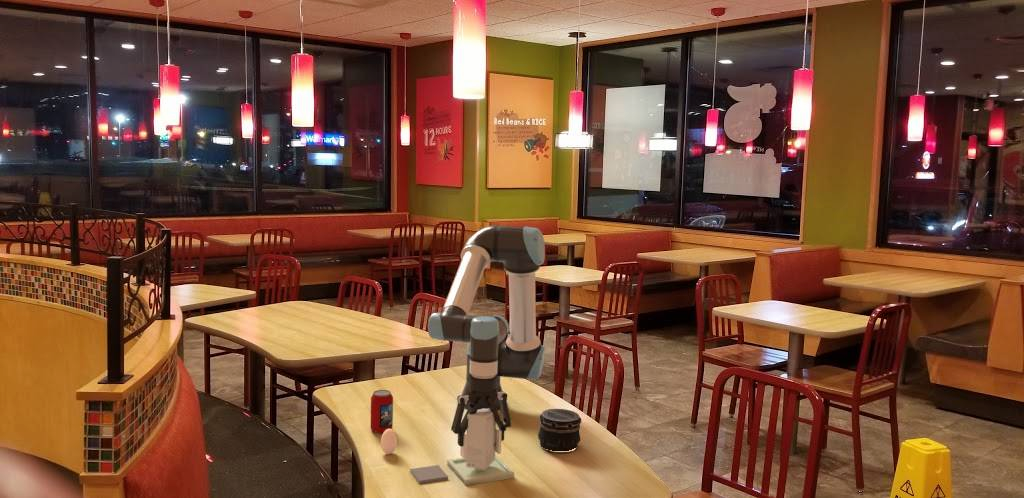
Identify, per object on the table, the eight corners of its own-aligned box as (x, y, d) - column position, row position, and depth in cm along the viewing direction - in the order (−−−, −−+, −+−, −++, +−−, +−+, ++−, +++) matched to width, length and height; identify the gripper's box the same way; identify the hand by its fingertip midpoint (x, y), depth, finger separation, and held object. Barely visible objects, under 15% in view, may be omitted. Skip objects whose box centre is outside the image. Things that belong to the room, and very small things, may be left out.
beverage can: (388, 435, 241) (388, 396, 239) (367, 432, 242) (367, 394, 240) (395, 427, 247) (396, 390, 246) (375, 425, 249) (375, 388, 247)
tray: (493, 458, 226) (493, 453, 226) (514, 477, 213) (514, 472, 213) (447, 465, 220) (447, 459, 220) (465, 485, 207) (465, 479, 207)
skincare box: (485, 471, 211) (487, 417, 209) (464, 467, 213) (466, 414, 211) (495, 459, 219) (497, 407, 217) (475, 456, 221) (476, 404, 219)
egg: (389, 458, 223) (390, 433, 222) (377, 454, 226) (377, 429, 225) (400, 453, 227) (400, 428, 226) (388, 449, 229) (388, 424, 229)
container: (584, 442, 241) (586, 410, 239) (573, 457, 229) (575, 424, 227) (544, 436, 245) (545, 405, 243) (531, 450, 233) (533, 418, 231)
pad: (438, 467, 218) (438, 465, 218) (448, 479, 211) (448, 476, 211) (410, 471, 215) (410, 469, 214) (419, 483, 207) (419, 480, 207)
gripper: (514, 367, 221) (511, 444, 224) (439, 374, 212) (437, 454, 215) (526, 374, 214) (523, 454, 217) (449, 382, 205) (447, 465, 208)
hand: (480, 454), depth 216 cm, fingers closed on skincare box, 9 cm apart
